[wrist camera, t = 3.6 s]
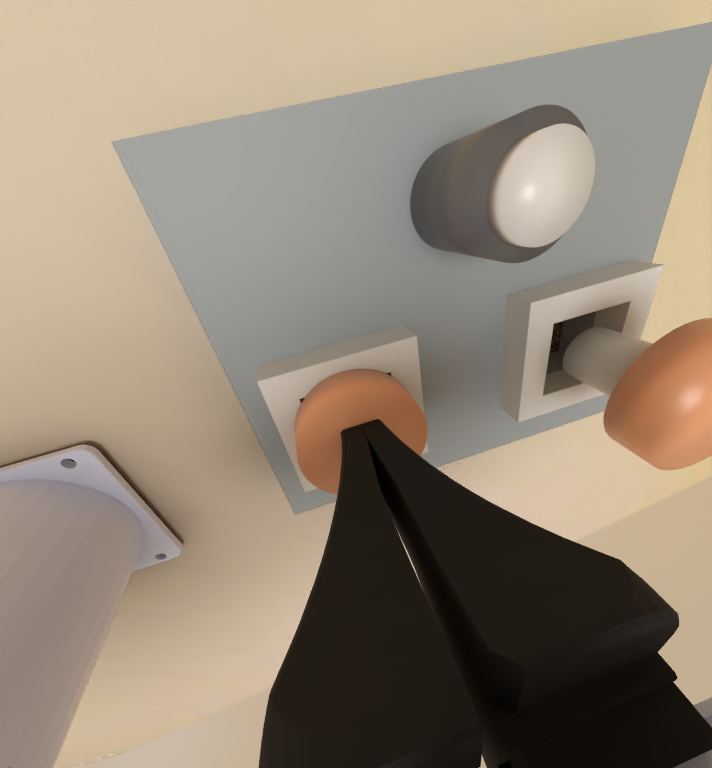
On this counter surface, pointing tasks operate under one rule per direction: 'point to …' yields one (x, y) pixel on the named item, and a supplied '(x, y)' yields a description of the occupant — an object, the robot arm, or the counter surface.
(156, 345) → the counter surface
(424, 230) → the white domed button
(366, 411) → the knob
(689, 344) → the knob
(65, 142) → the counter surface
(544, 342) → the mount board
